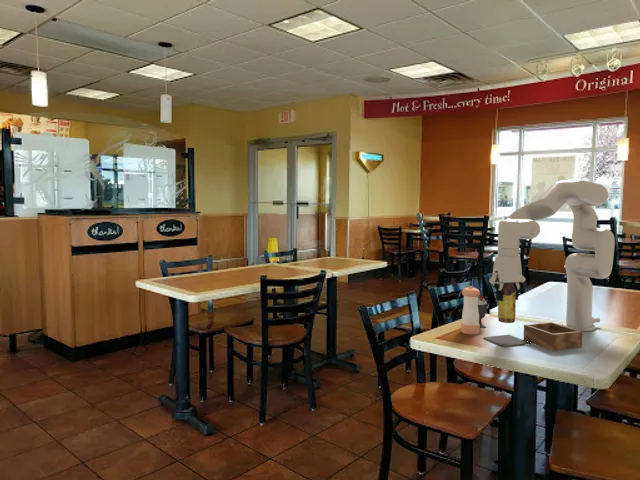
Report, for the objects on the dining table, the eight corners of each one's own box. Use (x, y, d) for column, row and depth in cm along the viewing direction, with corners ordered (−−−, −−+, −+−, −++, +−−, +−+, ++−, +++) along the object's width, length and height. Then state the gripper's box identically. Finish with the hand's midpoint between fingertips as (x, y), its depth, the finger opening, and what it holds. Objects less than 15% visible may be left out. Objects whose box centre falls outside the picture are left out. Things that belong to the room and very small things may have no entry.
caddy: (550, 336, 189) (551, 322, 189) (581, 347, 175) (582, 331, 175) (523, 340, 185) (523, 324, 185) (553, 351, 171) (553, 334, 171)
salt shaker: (460, 333, 195) (460, 287, 194) (461, 329, 202) (462, 284, 201) (479, 335, 193) (479, 288, 191) (480, 330, 200) (480, 285, 198)
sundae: (483, 329, 201) (483, 294, 200) (468, 326, 206) (469, 292, 205) (491, 326, 206) (491, 292, 204) (477, 324, 211) (477, 290, 209)
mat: (509, 336, 191) (509, 334, 191) (530, 344, 180) (530, 342, 180) (483, 338, 188) (483, 337, 188) (503, 347, 176) (503, 345, 176)
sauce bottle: (516, 324, 179) (518, 271, 178) (499, 323, 180) (500, 271, 179) (513, 320, 186) (514, 269, 184) (496, 319, 187) (497, 268, 185)
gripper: (520, 251, 187) (518, 296, 189) (482, 252, 182) (481, 299, 183) (534, 253, 180) (532, 300, 181) (495, 254, 175) (494, 303, 176)
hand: (506, 299), depth 182 cm, fingers closed on sauce bottle, 6 cm apart
